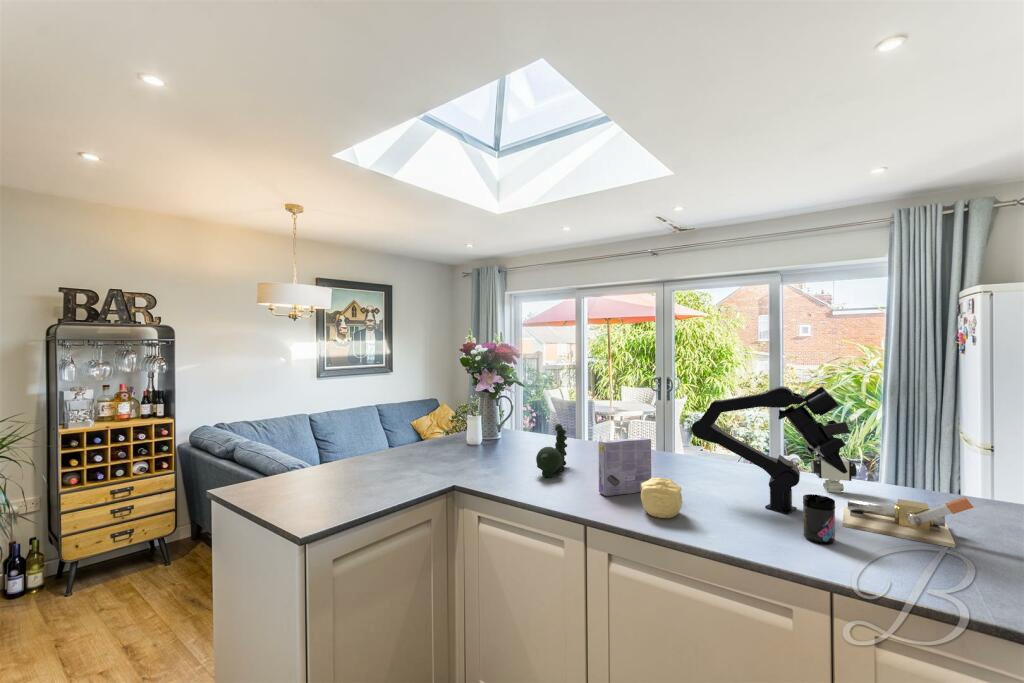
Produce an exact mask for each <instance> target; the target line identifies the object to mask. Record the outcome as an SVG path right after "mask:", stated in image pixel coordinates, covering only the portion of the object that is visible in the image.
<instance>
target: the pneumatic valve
mask: <svg viewBox="0 0 1024 683" xmlns="http://www.w3.org/2000/svg"><path fill="white" fill-rule="evenodd" d="M841 459H842V461H843V463H844V465H845V467H846V469H847V471H848V472H847V473H845V474H843V473H842V472H840V471H838V470H837V469H835V468H834V467H832V466H830V465H829V464H827V463H826V462H824V461H822V460H821V459H819V458H817V457H816V456H815V458H814V459H812V460H811V461H810V470H811V472H812V474H815V475H816V477H818V479H825V480H824V482H823V483H822V486H823V487H822V488H823V489H824V490H826V492H827V493H830V494H831V493H832V494H842V492H844V490H845V487H844V484H843V483H840V481H847V482H852V479H853V477H854V478H856V476H857V466H856V463H854V462H852V461H851V460H850V459H848V458H847V457H841Z"/></svg>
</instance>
